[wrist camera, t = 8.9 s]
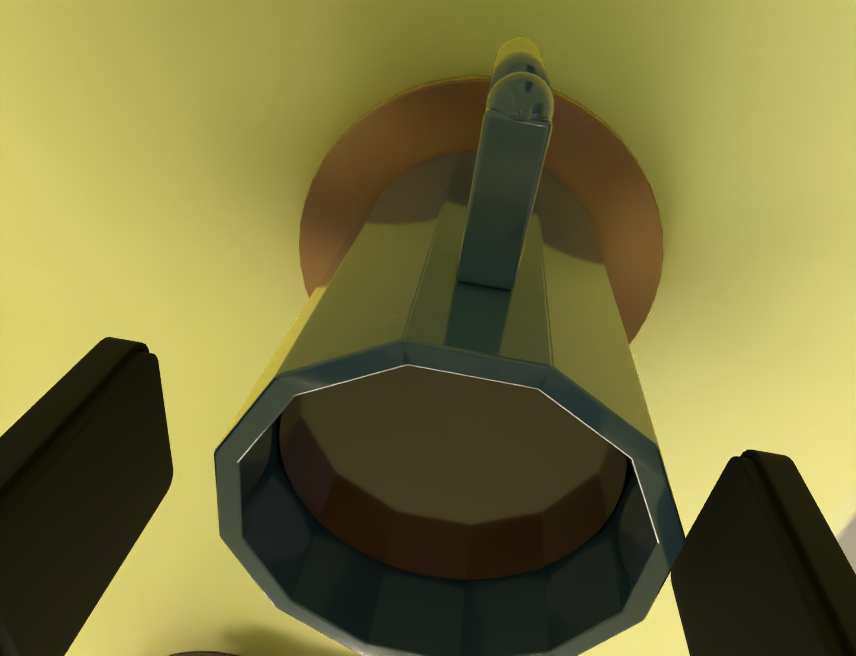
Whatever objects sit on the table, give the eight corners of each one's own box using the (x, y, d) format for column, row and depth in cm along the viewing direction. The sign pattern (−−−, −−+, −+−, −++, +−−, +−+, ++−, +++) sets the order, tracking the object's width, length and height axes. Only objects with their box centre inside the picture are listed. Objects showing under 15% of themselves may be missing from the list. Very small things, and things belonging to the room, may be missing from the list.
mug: (564, 391, 19) (599, 704, 11) (347, 351, 19) (224, 629, 11) (673, 49, 14) (892, 165, 6) (374, 1, 14) (183, 47, 6)
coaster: (332, 26, 15) (326, 28, 15) (729, 138, 15) (736, 144, 15) (286, 356, 21) (280, 365, 20) (579, 436, 21) (580, 447, 20)
